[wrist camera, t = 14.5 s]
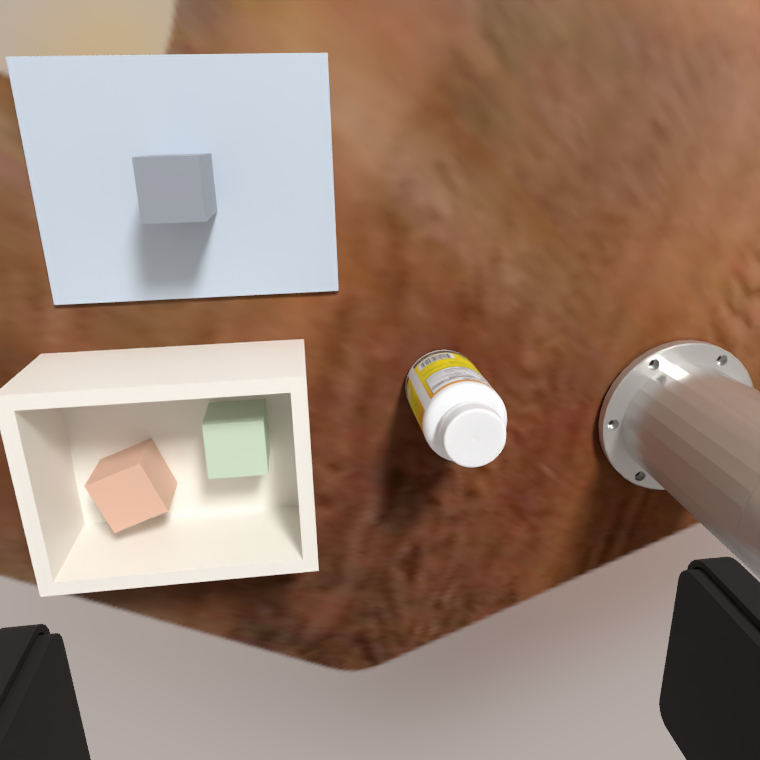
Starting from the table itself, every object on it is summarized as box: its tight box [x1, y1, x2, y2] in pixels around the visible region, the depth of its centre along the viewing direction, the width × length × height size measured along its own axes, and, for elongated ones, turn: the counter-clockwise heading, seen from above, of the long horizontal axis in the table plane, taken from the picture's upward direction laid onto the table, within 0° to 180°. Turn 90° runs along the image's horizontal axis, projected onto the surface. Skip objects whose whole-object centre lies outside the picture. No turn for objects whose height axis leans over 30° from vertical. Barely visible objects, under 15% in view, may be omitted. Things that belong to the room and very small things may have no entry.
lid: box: [6, 53, 338, 305], centre depth 41 cm, size 19×15×7 cm
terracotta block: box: [84, 438, 177, 533], centre depth 47 cm, size 4×4×4 cm
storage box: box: [0, 339, 319, 597], centre depth 45 cm, size 18×14×8 cm
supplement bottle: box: [405, 350, 507, 467], centre depth 45 cm, size 6×6×10 cm
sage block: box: [202, 399, 270, 479], centre depth 46 cm, size 4×4×4 cm
